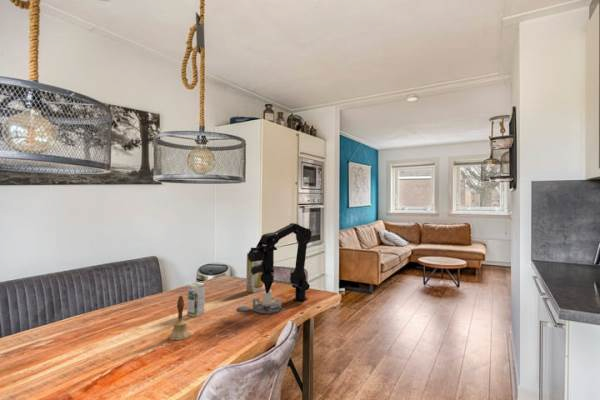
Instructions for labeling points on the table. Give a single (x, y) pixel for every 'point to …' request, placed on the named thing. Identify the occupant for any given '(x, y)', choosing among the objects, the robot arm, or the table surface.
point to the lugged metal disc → (266, 307)
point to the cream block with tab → (267, 298)
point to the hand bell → (180, 324)
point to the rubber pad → (243, 309)
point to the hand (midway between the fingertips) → (267, 290)
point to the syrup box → (196, 299)
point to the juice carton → (253, 277)
